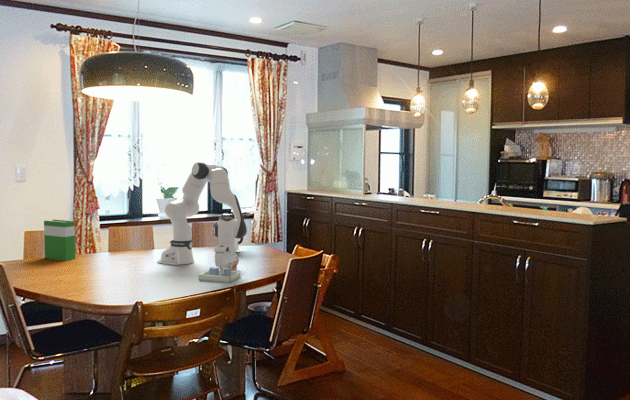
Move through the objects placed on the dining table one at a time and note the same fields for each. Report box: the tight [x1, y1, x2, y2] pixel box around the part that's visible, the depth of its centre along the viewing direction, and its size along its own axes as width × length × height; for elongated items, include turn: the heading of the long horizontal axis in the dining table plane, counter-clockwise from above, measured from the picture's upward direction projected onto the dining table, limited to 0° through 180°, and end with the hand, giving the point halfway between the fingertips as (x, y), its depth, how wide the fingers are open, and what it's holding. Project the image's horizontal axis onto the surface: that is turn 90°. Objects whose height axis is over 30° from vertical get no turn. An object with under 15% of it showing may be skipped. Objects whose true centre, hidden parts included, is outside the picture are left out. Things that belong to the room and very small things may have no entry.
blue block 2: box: [221, 268, 231, 277], centre depth 298 cm, size 4×4×5 cm
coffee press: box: [219, 208, 244, 254], centre depth 376 cm, size 17×16×30 cm
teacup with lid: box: [224, 254, 240, 272], centre depth 318 cm, size 12×9×12 cm
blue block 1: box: [208, 266, 220, 276], centre depth 299 cm, size 4×4×5 cm
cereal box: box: [43, 219, 76, 262], centre depth 344 cm, size 18×7×24 cm, turn 68°
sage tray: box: [198, 269, 241, 284], centre depth 299 cm, size 18×14×3 cm
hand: (225, 271), depth 298 cm, fingers open, 8 cm apart
